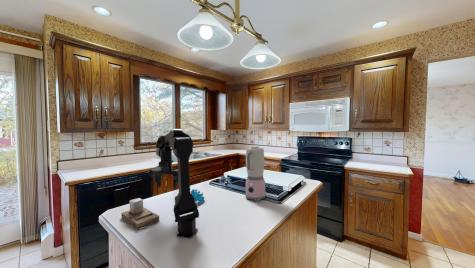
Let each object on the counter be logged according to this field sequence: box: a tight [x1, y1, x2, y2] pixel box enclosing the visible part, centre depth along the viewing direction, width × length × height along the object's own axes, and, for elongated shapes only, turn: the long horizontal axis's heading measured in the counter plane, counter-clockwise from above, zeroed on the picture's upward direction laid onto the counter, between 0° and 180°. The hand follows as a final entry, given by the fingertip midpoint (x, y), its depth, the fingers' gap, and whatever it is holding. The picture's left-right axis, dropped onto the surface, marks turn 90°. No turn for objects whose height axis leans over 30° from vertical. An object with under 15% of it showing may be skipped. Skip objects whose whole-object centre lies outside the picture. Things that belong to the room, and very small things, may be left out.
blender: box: [245, 145, 266, 202], centre depth 117 cm, size 16×12×32 cm
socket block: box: [121, 206, 160, 230], centre depth 93 cm, size 18×10×2 cm, turn 50°
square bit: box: [129, 197, 144, 216], centre depth 95 cm, size 4×4×8 cm
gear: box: [190, 189, 205, 205], centre depth 114 cm, size 11×6×10 cm
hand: (167, 188), depth 102 cm, fingers open, 9 cm apart
